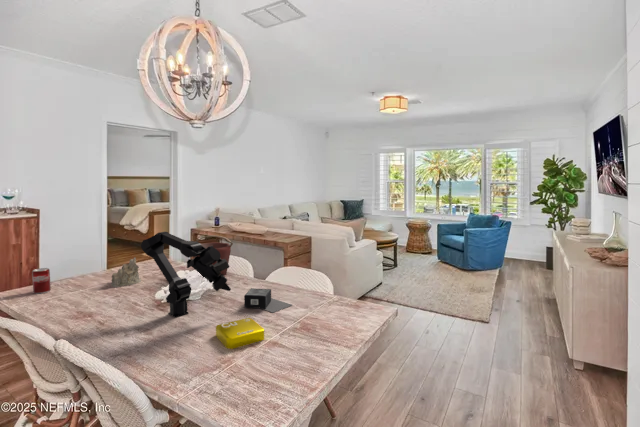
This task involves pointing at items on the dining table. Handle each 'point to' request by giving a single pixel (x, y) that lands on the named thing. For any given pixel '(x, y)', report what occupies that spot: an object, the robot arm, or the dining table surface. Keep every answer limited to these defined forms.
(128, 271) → the jagged grey rock
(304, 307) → the dining table surface
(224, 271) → the bucket
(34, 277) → the soda can
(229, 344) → the element tile
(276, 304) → the dark rubber mat
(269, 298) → the small box
